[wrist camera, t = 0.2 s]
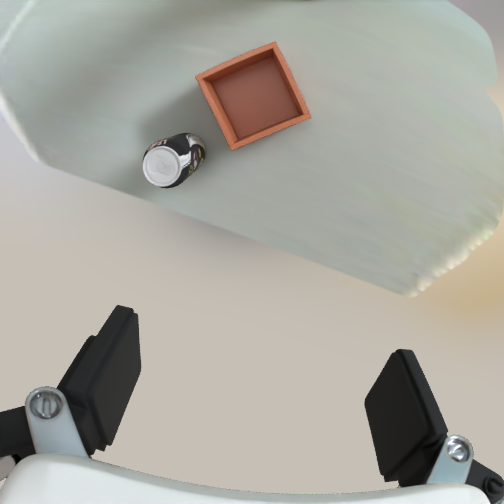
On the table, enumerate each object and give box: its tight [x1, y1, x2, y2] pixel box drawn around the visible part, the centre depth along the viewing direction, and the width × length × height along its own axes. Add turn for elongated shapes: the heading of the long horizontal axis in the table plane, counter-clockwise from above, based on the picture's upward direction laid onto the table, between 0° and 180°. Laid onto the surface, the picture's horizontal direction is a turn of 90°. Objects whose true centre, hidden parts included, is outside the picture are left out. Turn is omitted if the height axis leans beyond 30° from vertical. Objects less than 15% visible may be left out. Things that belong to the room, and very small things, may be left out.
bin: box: [195, 42, 311, 151], centre depth 37 cm, size 10×10×7 cm
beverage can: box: [142, 133, 206, 188], centre depth 38 cm, size 6×6×12 cm
